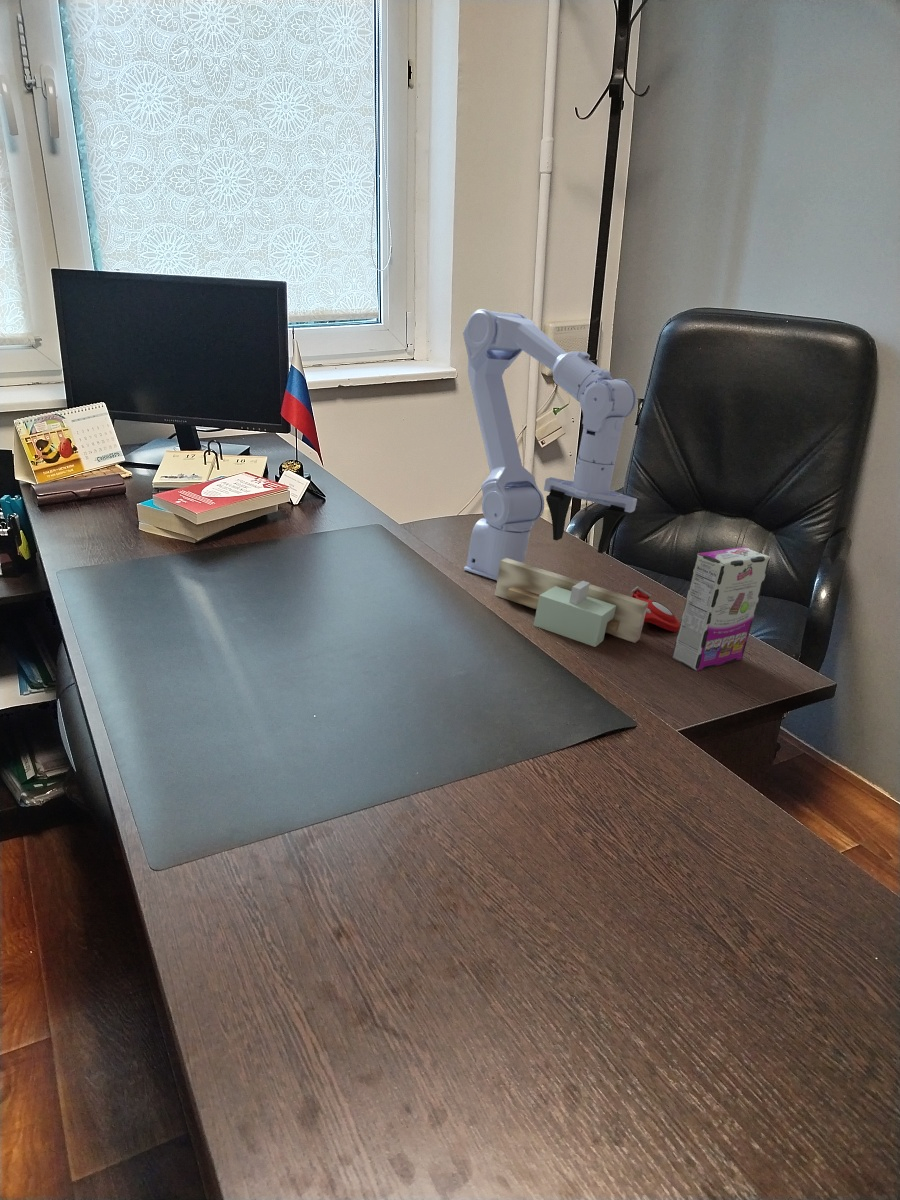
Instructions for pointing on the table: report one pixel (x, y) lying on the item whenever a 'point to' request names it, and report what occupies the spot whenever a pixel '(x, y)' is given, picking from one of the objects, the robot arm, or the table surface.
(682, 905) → the table surface
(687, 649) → the candy bar box
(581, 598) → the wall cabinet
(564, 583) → the wall board
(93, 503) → the table surface
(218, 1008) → the table surface
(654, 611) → the tracker holder
